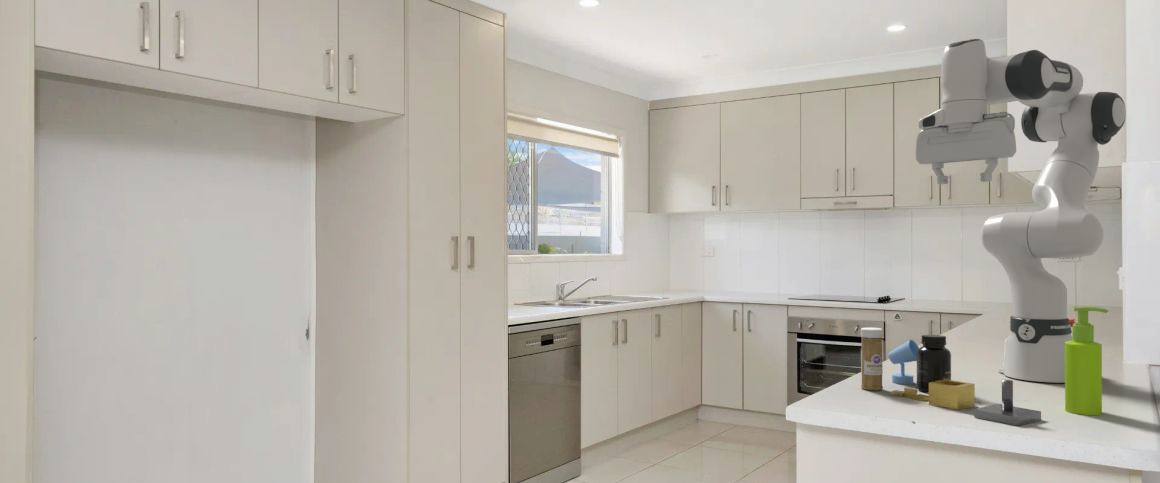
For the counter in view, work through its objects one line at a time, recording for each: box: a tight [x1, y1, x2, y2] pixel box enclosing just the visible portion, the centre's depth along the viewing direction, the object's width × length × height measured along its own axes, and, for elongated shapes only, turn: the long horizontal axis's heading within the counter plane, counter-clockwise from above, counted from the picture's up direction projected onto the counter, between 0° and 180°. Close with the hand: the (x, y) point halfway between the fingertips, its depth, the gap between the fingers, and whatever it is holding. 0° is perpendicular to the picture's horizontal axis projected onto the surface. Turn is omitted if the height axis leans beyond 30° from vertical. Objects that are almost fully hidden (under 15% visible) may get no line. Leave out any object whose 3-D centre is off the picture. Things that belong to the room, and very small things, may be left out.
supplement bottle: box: [916, 334, 952, 394], centre depth 167 cm, size 7×7×12 cm
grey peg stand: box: [973, 379, 1042, 427], centre depth 142 cm, size 8×8×7 cm
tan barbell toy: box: [890, 387, 929, 402], centre depth 160 cm, size 2×8×2 cm, turn 33°
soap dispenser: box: [1064, 306, 1109, 416], centre depth 146 cm, size 6×7×20 cm
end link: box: [928, 379, 976, 411], centre depth 153 cm, size 6×6×4 cm
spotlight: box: [888, 339, 920, 385], centre depth 176 cm, size 5×10×7 cm
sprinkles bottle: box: [860, 326, 884, 392], centre depth 169 cm, size 5×5×14 cm
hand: (963, 182), depth 162 cm, fingers open, 8 cm apart
